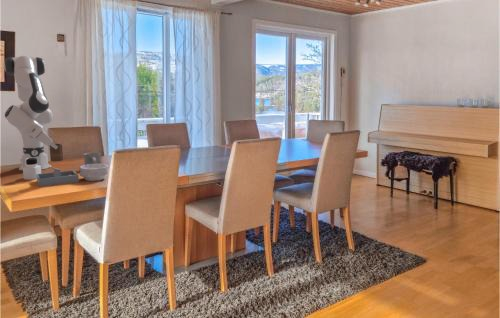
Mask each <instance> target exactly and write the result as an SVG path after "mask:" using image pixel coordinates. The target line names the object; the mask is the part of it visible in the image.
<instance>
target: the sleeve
mask: <svg viewBox="0 0 500 318" xmlns="http://www.w3.org/2000/svg"><path fill="white" fill-rule="evenodd" d="M54 144H55V145H56V146H58V148H57V149H55V148H53V147H52V146H50V145H49V157H50V158H49V159H50V162H62V161H64V158H63V157H64V155H63V144H62V143H54Z"/></svg>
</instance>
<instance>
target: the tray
mask: <svg viewBox="0 0 500 318" xmlns="http://www.w3.org/2000/svg"><path fill="white" fill-rule="evenodd" d="M51 168H52V171H53V172H43V173H42V172H41V174H36V177H37V179H36V182H37V184H38V186H39V188H40V187H48V186H57V185H65V184H67V185H68V184H74V183H80V179H79V178H80V177H79V174H78V173H77V172H76V171H75V170H73V169H71V170H64V171H62V170H61V169H60V168H57V167H54V166H53V167H51ZM68 175H71V176H68Z"/></svg>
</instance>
